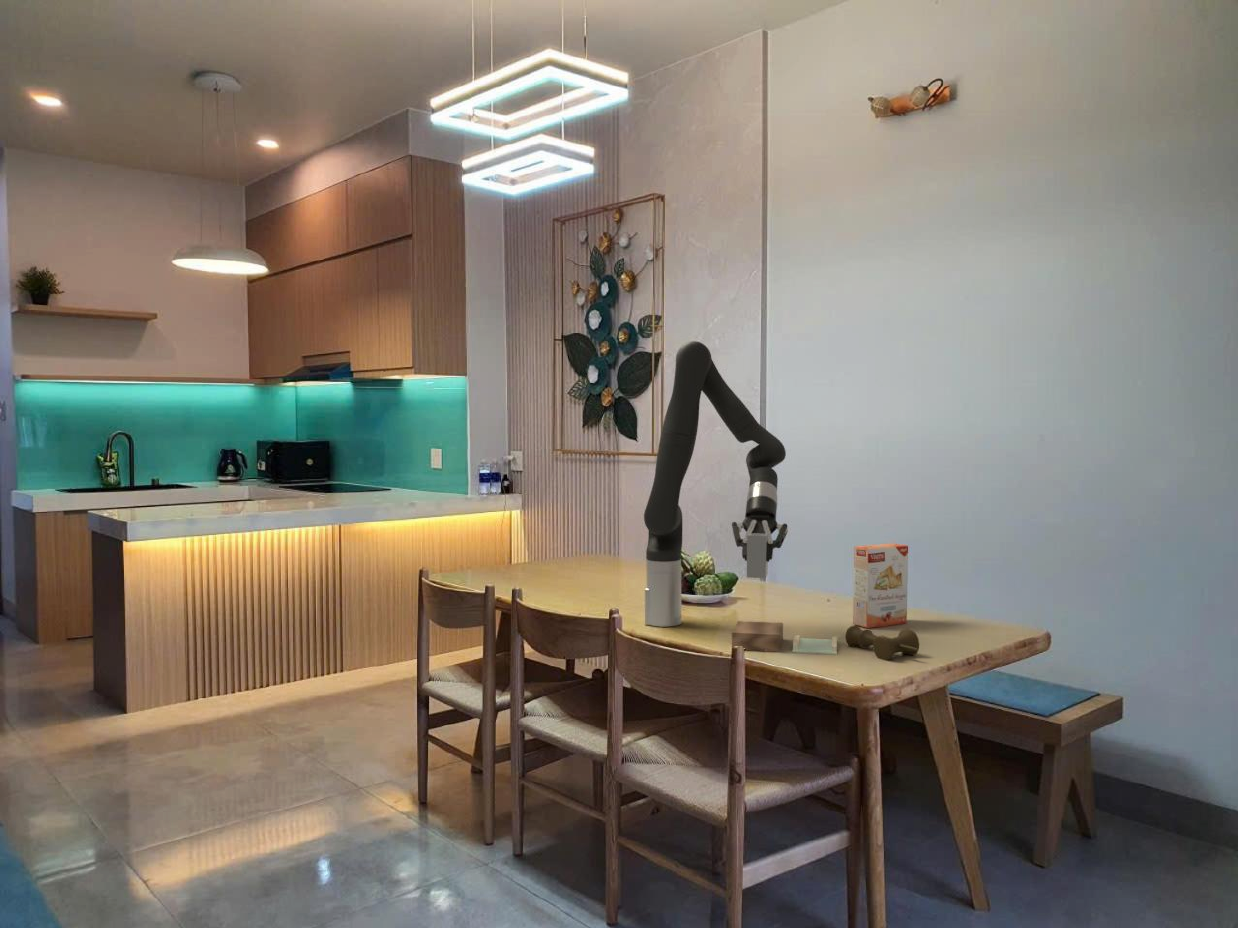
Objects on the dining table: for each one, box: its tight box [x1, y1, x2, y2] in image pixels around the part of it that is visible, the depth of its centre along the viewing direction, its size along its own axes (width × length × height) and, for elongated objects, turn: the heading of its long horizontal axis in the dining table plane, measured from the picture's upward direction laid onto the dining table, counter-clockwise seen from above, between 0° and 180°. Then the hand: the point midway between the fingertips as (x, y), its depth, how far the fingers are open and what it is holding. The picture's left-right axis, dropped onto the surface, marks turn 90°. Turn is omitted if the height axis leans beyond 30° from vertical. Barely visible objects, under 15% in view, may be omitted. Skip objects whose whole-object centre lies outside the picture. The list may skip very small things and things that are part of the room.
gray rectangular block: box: [746, 533, 769, 579], centre depth 224 cm, size 4×6×10 cm
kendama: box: [845, 625, 920, 661], centre depth 214 cm, size 6×10×20 cm
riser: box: [731, 620, 784, 652], centre depth 224 cm, size 11×13×4 cm
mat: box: [792, 634, 838, 655], centre depth 221 cm, size 10×13×1 cm
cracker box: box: [852, 542, 909, 629], centre depth 245 cm, size 14×6×21 cm, turn 117°
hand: (756, 558), depth 222 cm, fingers closed on gray rectangular block, 4 cm apart
